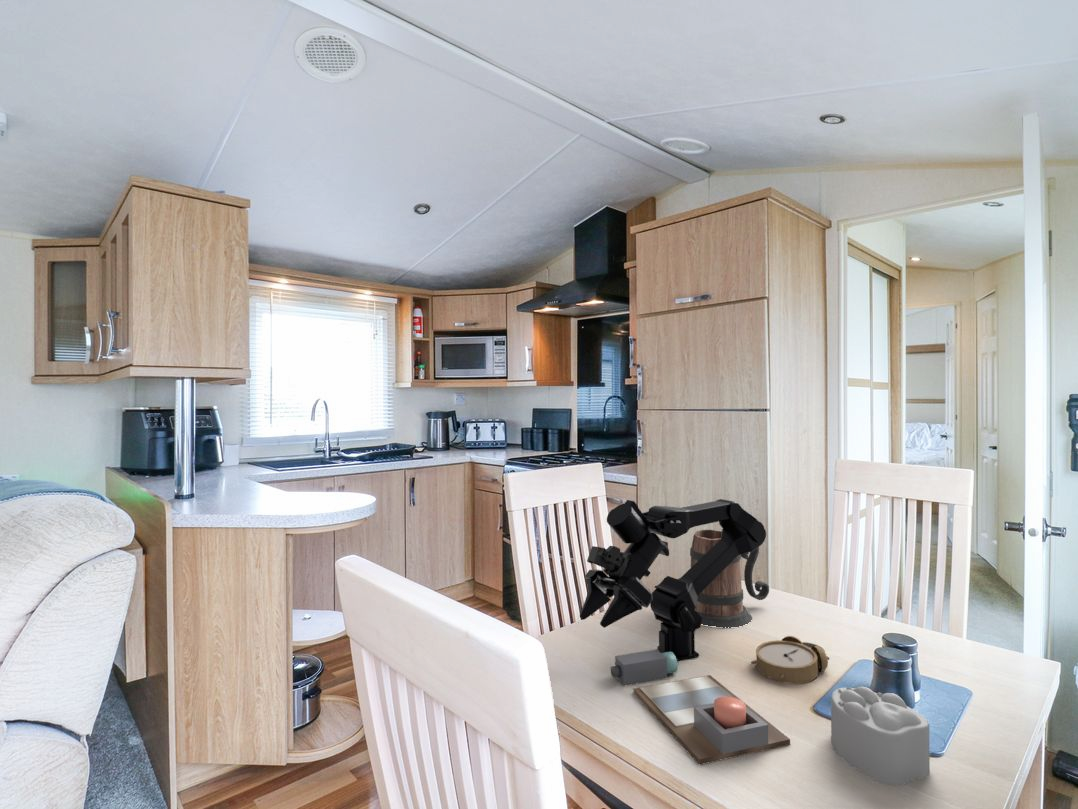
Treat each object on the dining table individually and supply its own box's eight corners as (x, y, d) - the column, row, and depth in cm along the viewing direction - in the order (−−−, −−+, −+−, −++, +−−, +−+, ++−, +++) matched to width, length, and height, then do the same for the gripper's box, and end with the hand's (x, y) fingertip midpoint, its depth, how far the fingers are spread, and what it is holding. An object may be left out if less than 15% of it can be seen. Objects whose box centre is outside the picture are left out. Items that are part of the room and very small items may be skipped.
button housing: (736, 716, 98) (736, 699, 98) (768, 744, 90) (768, 724, 90) (694, 725, 96) (693, 707, 96) (723, 754, 88) (722, 734, 88)
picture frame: (710, 679, 113) (709, 673, 112) (790, 744, 91) (790, 737, 91) (633, 692, 108) (633, 687, 108) (699, 764, 87) (699, 757, 87)
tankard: (706, 632, 134) (705, 545, 134) (667, 607, 150) (666, 529, 150) (790, 618, 142) (789, 536, 141) (745, 596, 158) (744, 521, 157)
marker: (667, 667, 118) (667, 647, 118) (678, 676, 114) (677, 656, 114) (608, 677, 114) (608, 657, 114) (617, 687, 110) (616, 666, 110)
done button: (733, 712, 96) (733, 694, 96) (752, 728, 91) (752, 709, 91) (708, 717, 95) (707, 699, 94) (725, 734, 90) (725, 714, 90)
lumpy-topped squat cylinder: (885, 790, 81) (885, 727, 81) (813, 738, 93) (812, 684, 93) (940, 773, 84) (940, 713, 84) (863, 725, 96) (863, 672, 96)
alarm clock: (742, 651, 118) (792, 624, 125) (745, 674, 118) (795, 645, 125) (789, 675, 108) (841, 643, 115) (792, 700, 109) (844, 667, 115)
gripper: (590, 530, 126) (544, 588, 120) (633, 531, 109) (582, 599, 103) (625, 565, 127) (582, 624, 122) (673, 572, 110) (625, 641, 104)
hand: (591, 621), depth 113 cm, fingers open, 9 cm apart
